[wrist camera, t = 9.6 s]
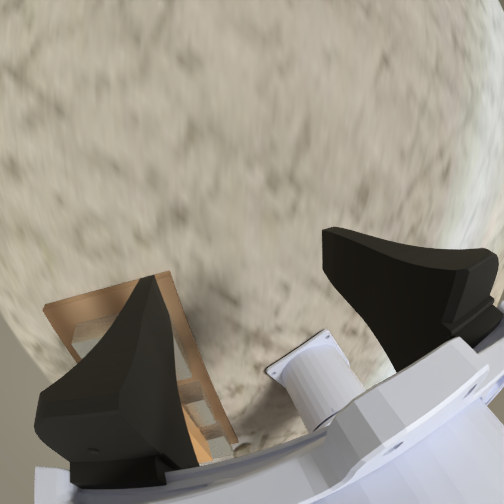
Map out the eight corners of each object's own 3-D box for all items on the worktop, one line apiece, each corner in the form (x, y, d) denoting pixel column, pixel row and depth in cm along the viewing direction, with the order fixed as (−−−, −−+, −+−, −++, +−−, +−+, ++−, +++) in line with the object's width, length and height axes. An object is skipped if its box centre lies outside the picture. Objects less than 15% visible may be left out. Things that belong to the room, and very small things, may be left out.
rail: (165, 300, 21) (167, 321, 19) (229, 439, 34) (234, 453, 32) (76, 323, 20) (71, 344, 18) (176, 451, 32) (178, 465, 30)
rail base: (169, 270, 21) (170, 276, 20) (237, 438, 36) (238, 442, 35) (45, 304, 19) (42, 310, 18) (164, 453, 34) (165, 458, 33)
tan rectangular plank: (168, 365, 24) (175, 413, 20) (203, 422, 30) (212, 460, 25) (130, 373, 24) (131, 421, 19) (172, 429, 29) (179, 466, 25)
